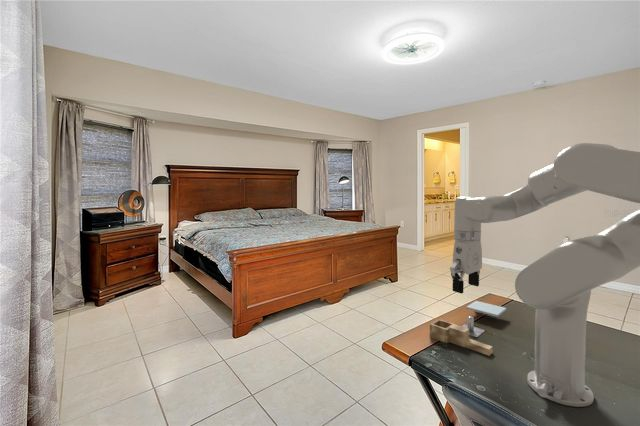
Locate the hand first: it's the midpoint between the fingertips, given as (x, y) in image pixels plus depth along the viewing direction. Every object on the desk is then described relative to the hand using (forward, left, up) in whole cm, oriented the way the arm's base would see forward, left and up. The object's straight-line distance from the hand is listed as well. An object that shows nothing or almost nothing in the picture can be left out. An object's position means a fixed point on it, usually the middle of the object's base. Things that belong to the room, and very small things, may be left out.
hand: (465, 288), depth 94 cm
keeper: (+24, +3, -18) cm, 31 cm away
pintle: (+9, +3, -18) cm, 21 cm away
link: (-2, +1, -18) cm, 18 cm away
